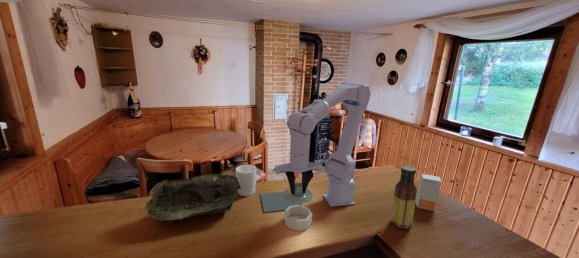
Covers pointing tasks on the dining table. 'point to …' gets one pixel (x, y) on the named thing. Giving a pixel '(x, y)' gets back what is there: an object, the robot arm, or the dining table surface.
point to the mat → (275, 202)
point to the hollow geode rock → (193, 197)
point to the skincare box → (428, 192)
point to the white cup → (246, 179)
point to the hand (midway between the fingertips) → (297, 192)
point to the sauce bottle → (404, 199)
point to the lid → (297, 194)
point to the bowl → (298, 217)
